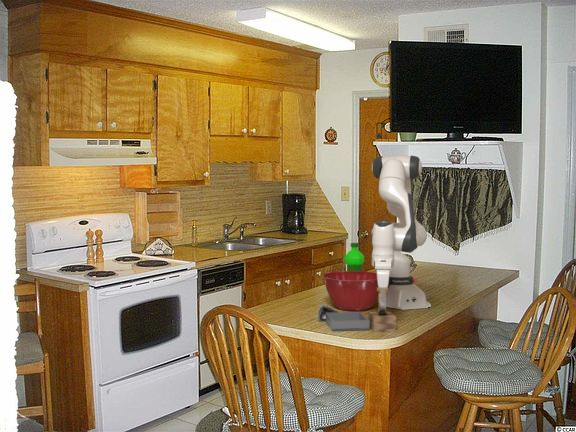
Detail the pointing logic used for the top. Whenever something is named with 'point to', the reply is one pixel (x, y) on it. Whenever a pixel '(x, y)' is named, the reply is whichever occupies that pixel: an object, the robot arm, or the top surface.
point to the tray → (347, 321)
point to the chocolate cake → (324, 312)
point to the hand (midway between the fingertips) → (382, 295)
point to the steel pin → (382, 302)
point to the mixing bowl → (352, 289)
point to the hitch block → (382, 322)
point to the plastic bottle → (354, 258)
